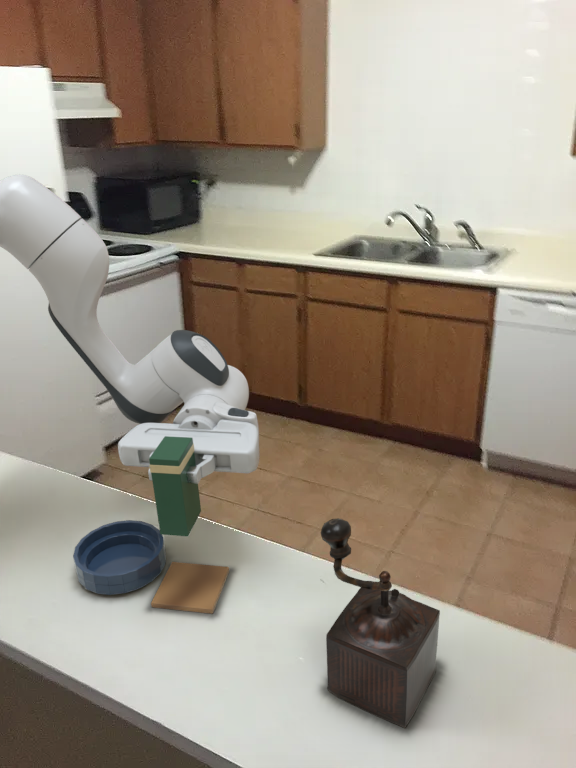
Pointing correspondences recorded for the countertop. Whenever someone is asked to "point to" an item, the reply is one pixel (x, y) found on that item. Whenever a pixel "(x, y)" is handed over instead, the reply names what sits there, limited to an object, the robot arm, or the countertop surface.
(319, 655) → the countertop surface
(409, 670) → the manual coffee grinder
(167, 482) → the tea packet
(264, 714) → the countertop surface
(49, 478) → the countertop surface
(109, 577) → the bowl
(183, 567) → the cork mat
